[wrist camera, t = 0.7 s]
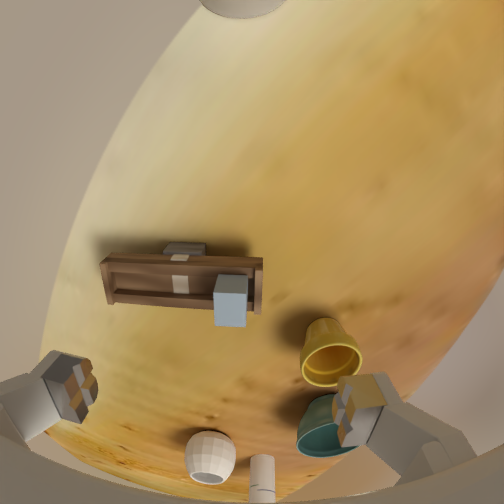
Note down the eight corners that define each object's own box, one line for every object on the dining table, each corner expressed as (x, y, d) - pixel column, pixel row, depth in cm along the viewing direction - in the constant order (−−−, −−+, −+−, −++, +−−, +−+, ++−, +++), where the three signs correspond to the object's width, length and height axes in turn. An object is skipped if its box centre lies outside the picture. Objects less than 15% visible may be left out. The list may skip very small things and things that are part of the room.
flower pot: (341, 425, 66) (348, 458, 56) (283, 420, 64) (285, 456, 54) (371, 387, 60) (383, 421, 50) (308, 379, 59) (315, 418, 48)
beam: (121, 240, 48) (98, 260, 40) (262, 244, 47) (263, 267, 39) (127, 282, 51) (108, 306, 43) (260, 289, 50) (260, 317, 42)
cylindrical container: (275, 463, 74) (276, 531, 51) (252, 464, 74) (250, 532, 51) (273, 453, 71) (274, 526, 48) (248, 454, 72) (245, 527, 49)
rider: (219, 269, 42) (213, 292, 36) (248, 270, 42) (246, 293, 36) (220, 299, 44) (214, 325, 38) (247, 300, 44) (245, 327, 38)
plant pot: (301, 357, 56) (306, 393, 47) (290, 317, 52) (295, 352, 43) (351, 344, 55) (364, 378, 46) (346, 302, 51) (361, 335, 42)
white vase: (180, 437, 69) (172, 476, 57) (202, 419, 65) (195, 463, 53) (221, 453, 72) (217, 490, 60) (246, 436, 68) (244, 478, 55)
